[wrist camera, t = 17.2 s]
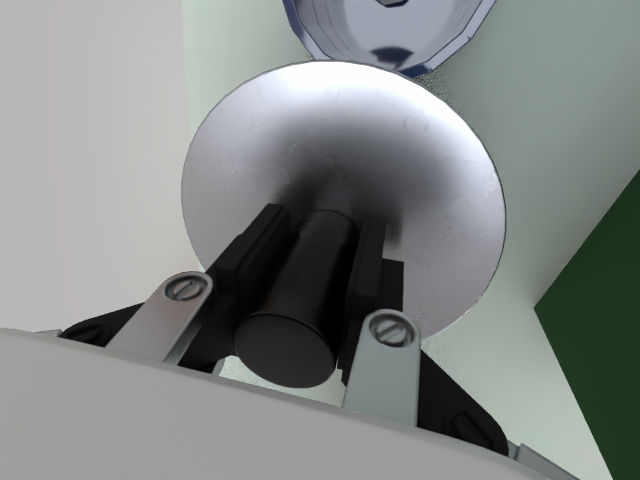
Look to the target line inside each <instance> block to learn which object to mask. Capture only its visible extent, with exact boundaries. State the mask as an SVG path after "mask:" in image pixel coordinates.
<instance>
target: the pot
mask: <svg viewBox="0 0 640 480" xmlns="http://www.w3.org/2000/svg"><path fill="white" fill-rule="evenodd" d="M282 1H283V4H284V7H285V10H286V13H287V17H288V20H289V23H290V26H291V28H292V30H293V32H294V33H295V34H296V35H297V37H298V38H299V39H300V41H301V42H302V43H303V45H304V46H305V47H306V49H307V50H308V51H309V53H310V54H311V55H312V57H313V58H314V59H315V60H316V59H345V60H352V61H358V62H365V63H371V64H374V65H378V66H381V67H384V68H387V69H391V70H394V71H397V72H399V73H401V74H403V75H405V76H407V77H409V78H412V79H413V78H416V77H419V76H422V75H425V74H428V73H431V71H434V70H435V69H436V68H438V67H439V66H440V65H441V64H443V63H444V62H445V61H446V60H447V59H449V58H450V57H451V56H452V55H454V54H455V53H456V52H457V51H458V50H460V49H461V48H462V47H463V46H465V45H466V44H467V43H468V42H469V41H470V39H472V38H473V36H474V35H475V33H476V32H477V30H478V29H479V27H480V26H481V24H482V22H483V21H484V19H485V18H486V16H487V15H488V13H489V12H490V10H491V8H492V7H493V5H494V4H495V2H496V1H497V0H403V1H400V2H396V3H392V4H387V5H384V4H383V3H381V2H380V1H379V0H282Z"/></svg>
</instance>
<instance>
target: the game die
mask: <svg viewBox="0 0 640 480" xmlns="http://www.w3.org/2000/svg"><path fill="white" fill-rule="evenodd" d="M379 1H380V2H381V3H383V4H384V5H387V4H392V3H396V2H400V1H403V0H379Z"/></svg>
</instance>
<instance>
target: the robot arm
mask: <svg viewBox="0 0 640 480" xmlns="http://www.w3.org/2000/svg"><path fill="white" fill-rule="evenodd" d="M386 223H387V221H384V220H377V219H371V220H370V223H369V222H364V224H363V228H362V232H361V236H360V240H359V244H358V248H357V252H356V255H355V259H354V263H353V267H352V271H351V275H350V279H349V283H348V288H347V293H346V299H345V306H344V314H343V323H342V341H341V345H340V350H339V355H338V363H337V369H341V370H343V372H342V379H341V381H342V382H343V384H344V385H345V387H346V391H345V395H344V399H343V403H342V407H338V406H334V405H330V404H326V403H322V402H319V401H315V400H311V399H307V398H303V397H299V396H295V395H291V394H287V393H284V392H280V391H276V390H272V389H268V388H264V387H260V386H256V385H252V384H248V383H244V382H240V381H236V380H232V379H228V378H224V377H220V376H219V374H220V372H221V370H222V368H223V365H224V362H225V357H228V356H230V355H233V356H237V354H236V352H235V349H234V347H233V342H232V335H233V330H234V327H235V325H236V324H237V322H238V320H239V319H240V317H241V315H242V314H243V312H244V310H245V309H246V307H247V306H248V304H249V302H250V301H251V299H252V297H253V296H254V294H255V292H256V291H257V289H258V287H259V286H260V284H261V282H262V281H263V279H264V277H265V276H266V274H267V273H268V271H269V269H270V268H271V266H272V264H273V263H274V261H275V259H276V258H277V256H278V254H279V253H280V251H281V249H282V248H283V246H284V245H285V243H286V241H287V240H288V238H289V236H290V211H289V210H285V206H284V205H278V204H272V203H268V204H267V205H266V206H265V207H264V208H263V210H262V211H261V212H260V213H259V214H258V215H257V217H256V218H255V219H254V220H253V221H252V222H251V224H250V225H249V226H248V227H247V228H246V229H245V231H244V232H243V233H242V234H239V235H237V236H236V237H235V239H234V240H233V241H232V242H231V243H230V244H229V245H228V247H227V248H226V249H225V250H224V251H223V252H222V253H221V255H220V256H219V257H218V258H217V259H216V260H215V261H214V263H213V264H212V265H211V266H210V267H209V268H208V269H207V271H206V272H205V273H202V272H198V271H189V272H182V273H179V274H176V275H174V276H172V277H170V278H168V279H167V280H166V281H164V282H163V283H162V284H161V285H160V286H159V287H158V289H157V290H156V291H155V292H154V293H153V294H152V295H151V296H150V298H149V299H148V300H147V301H146V302H143V303H140V304H137V305H133V306H130V307H127V308H124V309H120V310H117V311H114V312H110V313H107V314H104V315H101V316H97V317H94V318H91V319H87V320H84V321H82V322H79V323H77V324H75V325H73V326H71V327H70V328H68V329H66V330H65V331H64V332H62V330H61V329H58V330H50V331H41V332H29V331H23V330H16V329H8V328H0V480H580V479H578V478H576V477H575V476H573V475H572V474H570V473H568V472H567V471H565V470H564V469H562V468H561V467H559V466H557V465H556V464H554V463H553V462H551V461H550V460H548V459H546V458H545V457H543V456H542V455H540V454H539V453H537V452H535V451H534V450H532V449H531V448H529V447H527V446H526V445H524V444H523V443H521V444H520V446H519V447H518V446H517V445H515V444H513V443H512V442H510V441H509V440H507V438H506V436H505V434H504V432H503V431H502V429H501V427H500V426H499V424H498V423H497V422H496V421H495V420H494V419H493V417H492V416H491V415H490V414H488V413H487V412H486V411H485V410H484V409H483V408H482V407H481V406H480V405H479V404H478V403H477V402H476V401H475V400H474V399H473V398H472V397H471V396H470V395H469V394H468V393H466V392H465V391H464V390H463V389H462V388H461V387H460V386H459V385H458V384H457V383H456V382H455V381H454V380H453V379H452V378H451V377H450V376H449V375H448V374H447V373H446V372H444V371H443V370H442V369H441V368H440V367H439V366H438V365H437V364H436V363H435V362H434V361H433V360H432V359H431V358H430V357H429V356H428V355H427V354H426V353H425V352H424V351H422V350H421V332H420V329H419V327H418V325H417V323H416V322H415V321H414V320H413V319H412V318H411V317H409V316H407V315H406V314H404V313H403V287H404V262H403V261H397V260H391V259H385V258H382V255H383V247H384V239H385V231H386ZM237 357H238V356H237Z"/></svg>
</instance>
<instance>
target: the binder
mask: <svg viewBox="0 0 640 480" xmlns="http://www.w3.org/2000/svg"><path fill="white" fill-rule="evenodd" d="M534 310H535V312H536V314H537V317H538V319H539V321H540V323H541V325H542V327H543V330H544V332H545V334H546V336H547V338H548V340H549V342H550V345H551V347H552V349H553V351H554V353H555V355H556V358H557V360H558V362H559V364H560V366H561V368H562V370H563V373H564V375H565V377H566V379H567V381H568V383H569V386H570V388H571V390H572V392H573V394H574V396H575V398H576V401H577V403H578V405H579V407H580V409H581V411H582V413H583V416H584V418H585V420H586V422H587V424H588V426H589V429H590V431H591V433H592V435H593V437H594V439H595V441H596V444H597V446H598V448H599V450H600V452H601V454H602V457H603V459H604V461H605V463H606V465H607V467H608V469H609V472H610V474H611V476H612V478H613V480H640V170H639V172H638V173H637V174H636V176H635V177H634V178H633V180H632V181H631V182H630V184H629V185H628V186H627V187H626V189H625V190H624V191H623V193H622V194H621V195H620V197H619V198H618V199H617V201H616V202H615V203H614V204H613V206H612V207H611V208H610V210H609V211H608V212H607V214H606V215H605V216H604V217H603V219H602V220H601V221H600V223H599V224H598V225H597V227H596V228H595V229H594V231H593V232H592V233H591V234H590V236H589V237H588V238H587V240H586V241H585V242H584V244H583V245H582V246H581V248H580V249H579V250H578V251H577V253H576V254H575V255H574V257H573V258H572V259H571V261H570V262H569V263H568V265H567V266H566V267H565V268H564V270H563V271H562V272H561V274H560V275H559V276H558V278H557V279H556V280H555V282H554V283H553V284H552V285H551V287H550V288H549V289H548V291H547V292H546V293H545V295H544V296H543V297H542V299H541V300H540V301H539V302H538V304H537V305H536V306H535V308H534Z"/></svg>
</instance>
